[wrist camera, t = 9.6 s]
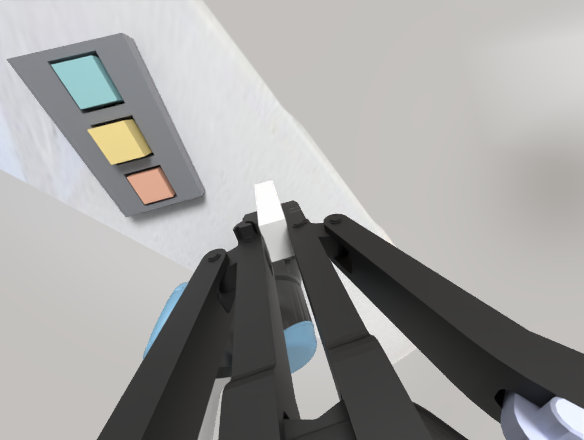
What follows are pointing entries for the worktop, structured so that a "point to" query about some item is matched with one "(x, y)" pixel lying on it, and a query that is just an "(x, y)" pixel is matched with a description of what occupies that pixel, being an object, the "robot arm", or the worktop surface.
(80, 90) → the teal button
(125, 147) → the yellow button
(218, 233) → the worktop surface
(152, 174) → the terracotta button
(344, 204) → the worktop surface
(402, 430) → the robot arm
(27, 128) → the worktop surface
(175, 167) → the button panel
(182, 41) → the worktop surface
